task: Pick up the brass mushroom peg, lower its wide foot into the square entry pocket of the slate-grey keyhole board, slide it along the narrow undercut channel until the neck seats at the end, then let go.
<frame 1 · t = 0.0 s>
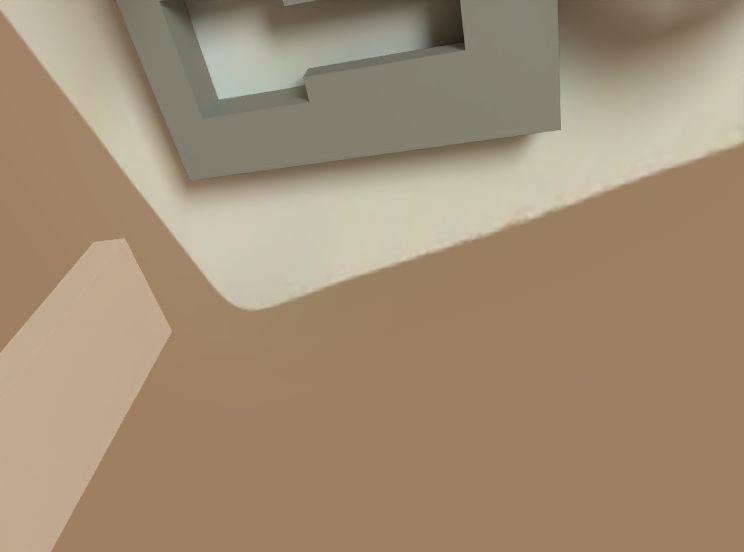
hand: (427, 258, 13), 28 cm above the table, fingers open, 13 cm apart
keyhole board: (344, 20, 37), on the table
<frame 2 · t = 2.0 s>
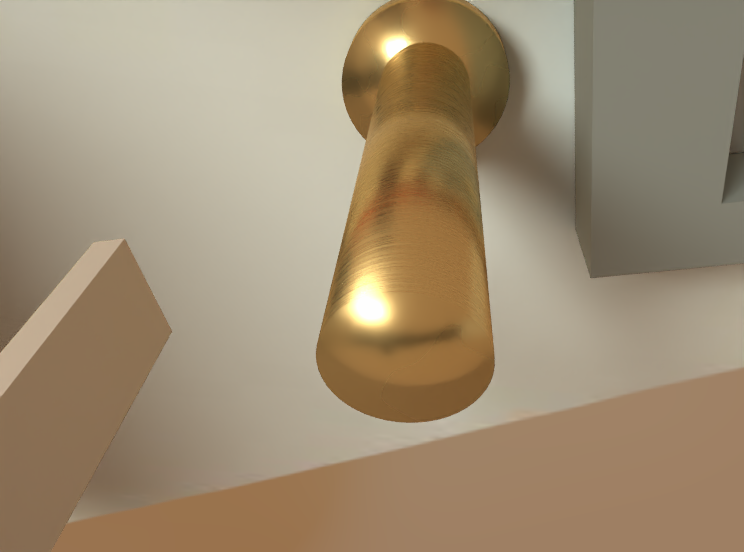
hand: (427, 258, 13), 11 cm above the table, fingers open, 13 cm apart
brass peg: (425, 77, 22), on the table
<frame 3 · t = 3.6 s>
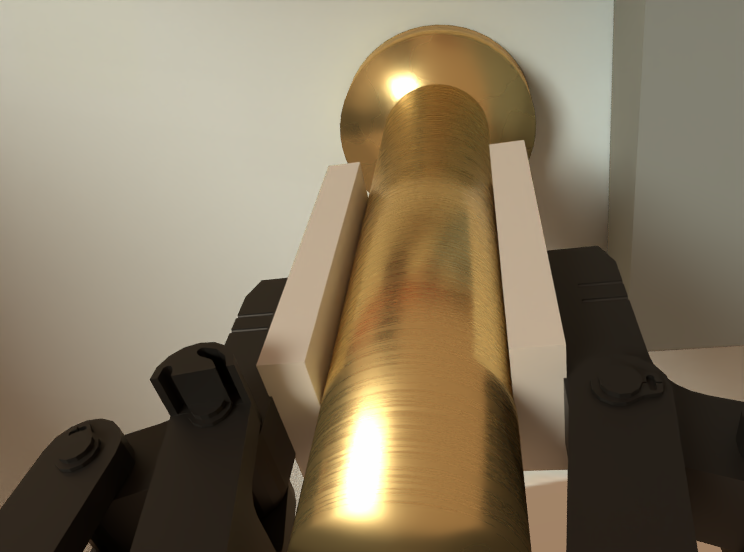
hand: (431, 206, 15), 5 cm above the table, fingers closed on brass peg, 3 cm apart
brass peg: (436, 121, 19), on the table, touching gripper
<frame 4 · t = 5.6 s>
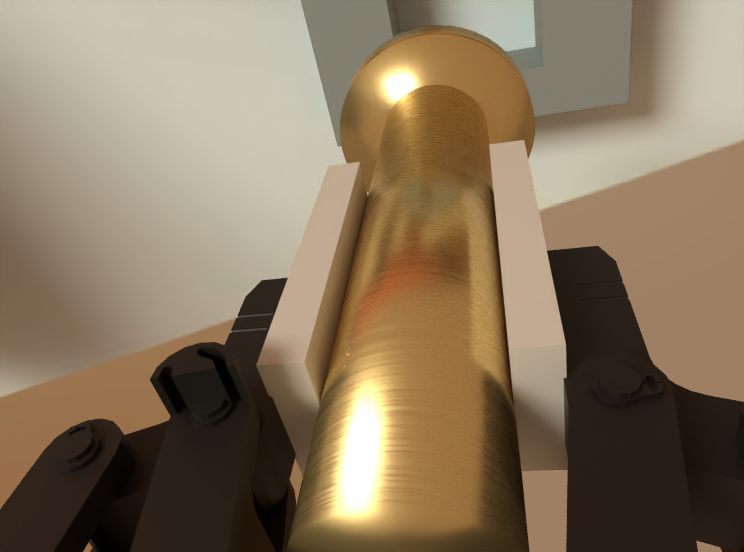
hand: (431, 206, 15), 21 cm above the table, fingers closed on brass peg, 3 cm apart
brass peg: (436, 121, 19), point 16 cm above the table, touching gripper
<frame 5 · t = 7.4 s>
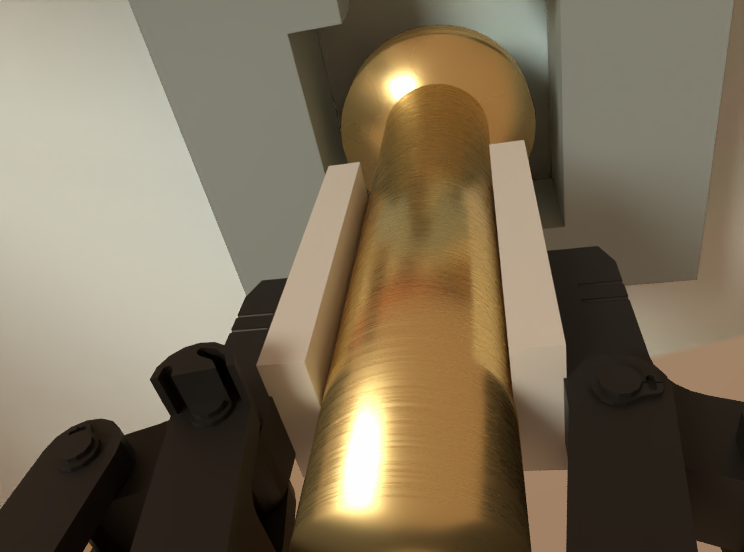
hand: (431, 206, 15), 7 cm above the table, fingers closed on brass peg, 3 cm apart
brass peg: (437, 121, 19), point 2 cm above the table, touching gripper
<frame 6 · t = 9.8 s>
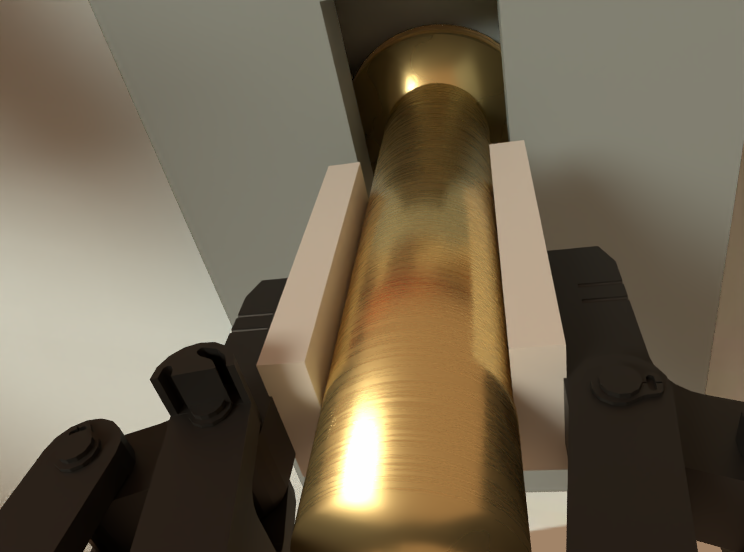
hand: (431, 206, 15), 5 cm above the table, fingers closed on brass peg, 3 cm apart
brass peg: (437, 120, 19), resting in keyhole board, touching gripper
keyhole board: (448, 190, 20), on the table
when the fingers open (5 cm above the table, at t = 11.4 s): brass peg stays where it is, resting in keyhole board.
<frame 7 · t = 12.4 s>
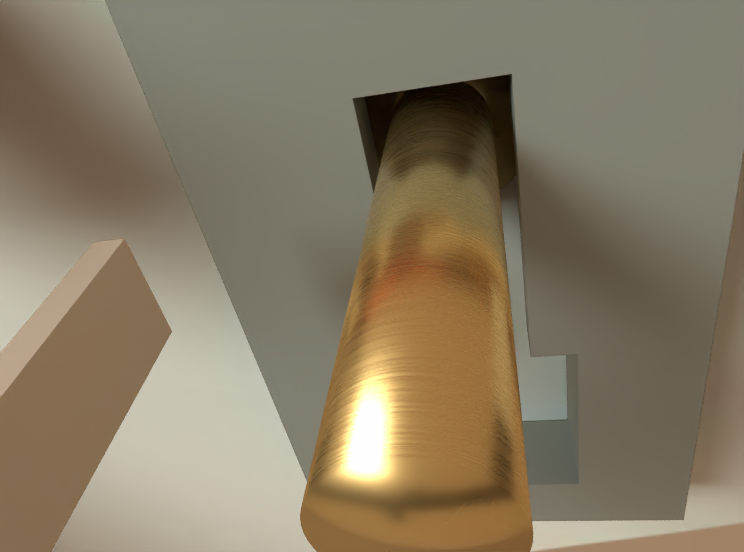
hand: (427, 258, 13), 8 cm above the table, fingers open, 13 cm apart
brass peg: (441, 113, 19), resting in keyhole board
keyhole board: (461, 246, 22), on the table
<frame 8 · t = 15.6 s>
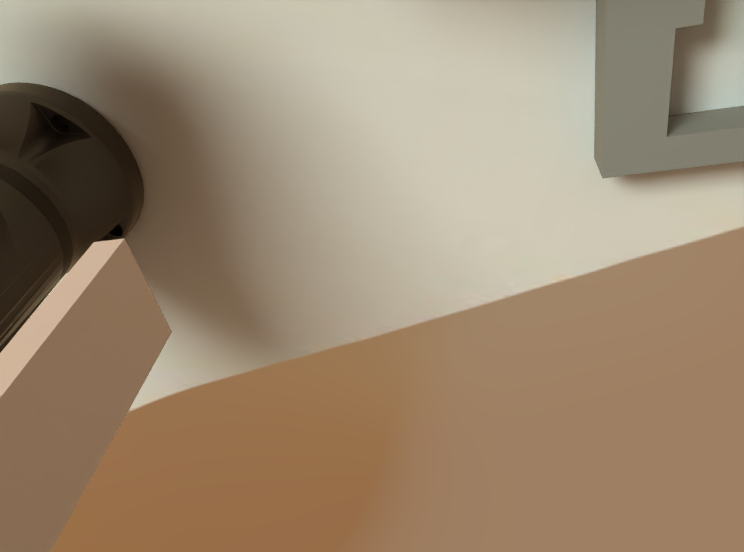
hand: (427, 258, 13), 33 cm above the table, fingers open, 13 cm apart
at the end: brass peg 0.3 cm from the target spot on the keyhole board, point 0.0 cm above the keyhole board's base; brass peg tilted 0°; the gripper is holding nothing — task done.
